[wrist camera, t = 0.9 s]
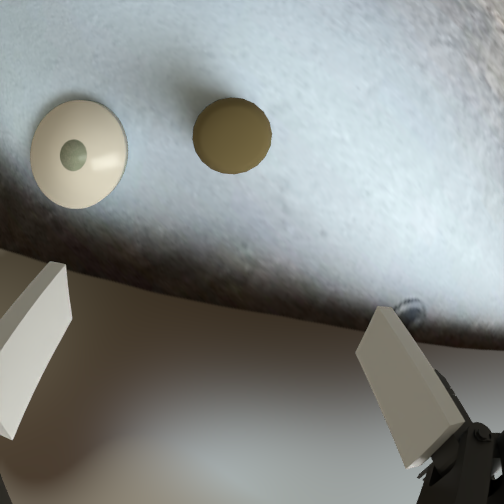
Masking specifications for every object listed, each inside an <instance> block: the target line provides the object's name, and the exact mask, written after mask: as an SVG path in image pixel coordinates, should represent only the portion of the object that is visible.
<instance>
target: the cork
mask: <svg viewBox="0 0 504 504" xmlns="http://www.w3.org/2000/svg"><path fill="white" fill-rule="evenodd" d="M271 137H272V132H271V127H270V122H269V120H268V119H267V117H266V115H265V114H264V112H263V111H262V110H261V109H260V108H259V107H257V106H256V105H255V104H254V103H252V102H249V101H247V100H245V99H241V98H226V99H221V100H217V101H216V102H214V103H212V104H210V105H209V106H207V107H206V108H205V109H204V110H203V111H202V112H201V114H200V115H199V116H198V118H197V120H196V123H195V125H194V128H193V143H194V148H195V151H196V153H197V154H198V156H199V158H200V159H201V161H202V162H203V163H205V164H206V165H207V166H208V167H210V168H211V169H213V170H215V171H218V172H220V173H225V174H238V173H242V172H247V171H248V170H250V169H252V168H254V167H255V166H257V165H258V164H259V163H260V162H261V161H262V160H263V159H264V158H265V156H266V154H267V152H268V150H269V148H270V146H271Z"/></svg>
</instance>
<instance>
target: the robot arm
mask: <svg viewBox="0 0 504 504" xmlns="http://www.w3.org/2000/svg"><path fill="white" fill-rule="evenodd" d="M71 320H72V313H71V307H70V299H69V291H68V283H67V273H66V264H61V263H56V262H51V261H50V262H49V263H48V264H47V265H46V267H45V268H44V269H43V270H42V271H41V272H40V273H39V274H38V275H37V277H36V278H35V279H34V280H33V281H32V282H31V283H30V284H29V286H28V287H27V288H26V289H25V290H24V292H23V293H22V294H21V295H20V296H19V297H18V299H17V300H16V301H15V302H14V304H13V305H12V306H11V307H10V308H9V310H8V311H7V312H6V314H5V315H4V316H3V317H2V319H1V320H0V435H2V436H4V437H7V438H9V439H11V440H13V438H14V435H15V433H16V431H17V428H18V426H19V423H20V421H21V419H22V416H23V414H24V412H25V410H26V407H27V405H28V403H29V401H30V399H31V397H32V394H33V392H34V390H35V388H36V386H37V384H38V382H39V380H40V378H41V376H42V374H43V372H44V370H45V368H46V366H47V364H48V362H49V360H50V358H51V357H52V355H53V353H54V351H55V349H56V347H57V345H58V344H59V342H60V340H61V338H62V336H63V334H64V333H65V331H66V329H67V327H68V326H69V324H70V322H71ZM356 355H357V358H358V360H359V362H360V364H361V366H362V368H363V371H364V373H365V375H366V377H367V379H368V381H369V384H370V386H371V388H372V390H373V392H374V395H375V397H376V399H377V402H378V404H379V406H380V409H381V411H382V413H383V415H384V418H385V420H386V422H387V425H388V427H389V429H390V432H391V434H392V437H393V439H394V441H395V444H396V446H397V449H398V451H399V453H400V456H401V458H402V461H403V463H404V466H405V468H406V469H409V468H413V467H416V466H420V465H422V464H423V463H424V462H425V461H426V460H427V459H429V457H431V458H432V460H433V462H432V463H431V464H430V465H429V466H428V467H427V468H426V469H425V470H423V471H422V472H421V473H420V474H419V476H418V477H417V478H421V477H422V476H423V475H424V474H425V473H427V474H426V477H425V478H424V479H423V481H424V483H423V487H422V489H421V493H420V495H419V498H418V501H417V504H504V431H503V432H502V433H491V431H490V430H489V428H488V427H487V426H485V425H484V424H482V423H479V422H475V423H473V422H472V421H471V420H470V418H469V416H468V414H467V413H466V411H465V409H464V408H463V406H462V404H461V403H460V401H459V399H458V398H457V396H455V393H454V391H453V390H452V389H450V385H449V384H448V382H447V381H446V379H445V378H444V377H443V376H442V375H441V374H440V373H439V372H438V371H437V370H436V369H435V370H434V369H433V368H432V367H431V365H430V363H429V362H428V360H427V359H426V357H425V356H424V354H423V353H422V351H421V350H420V348H419V347H418V345H417V344H416V342H415V341H414V339H413V338H412V336H411V335H410V333H409V332H408V330H407V329H406V328H405V326H404V325H403V323H402V322H401V320H400V319H399V317H398V316H397V315H396V313H395V312H394V310H393V309H392V308H391V307H381V306H377V309H376V311H375V313H374V315H373V317H372V320H371V322H370V324H369V326H368V328H367V330H366V332H365V334H364V336H363V339H362V341H361V343H360V345H359V347H358V349H357V350H356ZM501 468H502V475H501V476H500V477H499V478H497V479H495V478H494V474H495V473H497V472H498V471H499V470H500V469H501ZM0 504H12V502H11V499H10V497H9V495H8V492H7V490H6V488H5V485H4V482H3V480H2V477H1V474H0Z"/></svg>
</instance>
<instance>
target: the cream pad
mask: <svg viewBox="0 0 504 504" xmlns="http://www.w3.org/2000/svg"><path fill="white" fill-rule="evenodd" d="M127 159H128V142H127V137H126V134H125V130H124V128H123V126H122V124H121V122H120V121H119V119H118V117H117V116H116V115H115V114H114V113H113V112H112V111H111V110H110V109H109V108H107V107H105V106H104V105H102V104H100V103H97V102H93V101H86V100H74V101H69V102H65V103H63V104H60V105H59V106H57V107H55V108H54V109H52V110H51V111H50V112H49V113H48V114H47V115H46V116H45V117H44V118H43V119H42V121H41V122H40V124H39V125H38V127H37V129H36V131H35V134H34V137H33V140H32V145H31V152H30V160H31V167H32V172H33V175H34V178H35V180H36V182H37V184H38V186H39V188H40V189H41V191H42V192H43V193H44V194H45V195H46V196H47V197H48V198H49V199H50V200H52V201H53V202H54V203H56V204H58V205H60V206H63V207H66V208H72V209H80V208H86V207H89V206H92V205H94V204H96V203H98V202H99V201H101V200H102V199H103V198H105V197H106V196H107V195H109V194H110V193H111V192H112V191H113V190H114V189H115V187H116V186H117V185H118V183H119V182H120V180H121V178H122V176H123V174H124V171H125V168H126V165H127Z"/></svg>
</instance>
